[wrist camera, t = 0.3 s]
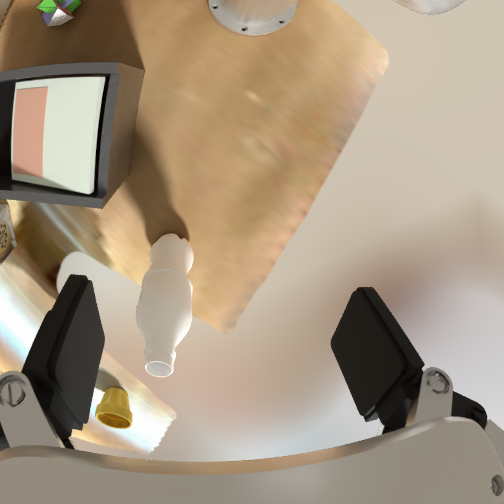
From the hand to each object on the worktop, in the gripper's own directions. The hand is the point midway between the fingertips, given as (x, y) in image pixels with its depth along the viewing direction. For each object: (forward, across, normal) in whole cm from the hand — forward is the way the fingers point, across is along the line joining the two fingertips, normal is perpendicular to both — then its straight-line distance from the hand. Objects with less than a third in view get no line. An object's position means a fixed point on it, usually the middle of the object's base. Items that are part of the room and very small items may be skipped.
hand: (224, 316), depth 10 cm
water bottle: (+36, +4, +19) cm, 41 cm away
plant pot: (+36, +22, +68) cm, 80 cm away
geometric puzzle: (+36, +25, -22) cm, 49 cm away
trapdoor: (+25, +19, -2) cm, 32 cm away
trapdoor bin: (+36, +22, -3) cm, 42 cm away
